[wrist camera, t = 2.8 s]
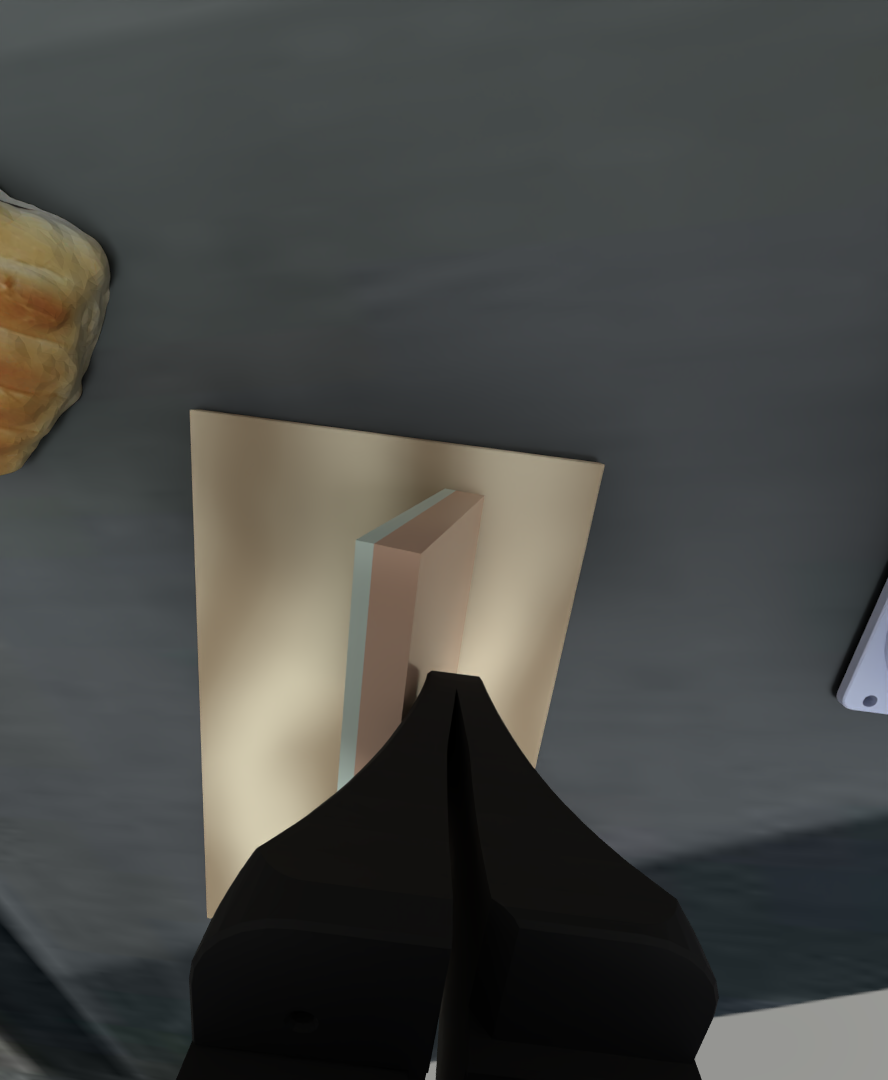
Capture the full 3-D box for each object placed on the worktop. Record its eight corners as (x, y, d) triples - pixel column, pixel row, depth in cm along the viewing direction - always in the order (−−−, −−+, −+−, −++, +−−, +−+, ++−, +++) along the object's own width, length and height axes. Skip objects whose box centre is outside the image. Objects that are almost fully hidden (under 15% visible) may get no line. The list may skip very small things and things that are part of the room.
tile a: (484, 495, 16) (421, 553, 9) (450, 717, 18) (381, 887, 12) (445, 488, 16) (355, 540, 9) (416, 708, 18) (331, 868, 12)
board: (599, 462, 16) (604, 465, 15) (491, 941, 23) (492, 955, 22) (199, 409, 16) (189, 409, 15) (213, 904, 23) (207, 917, 22)
